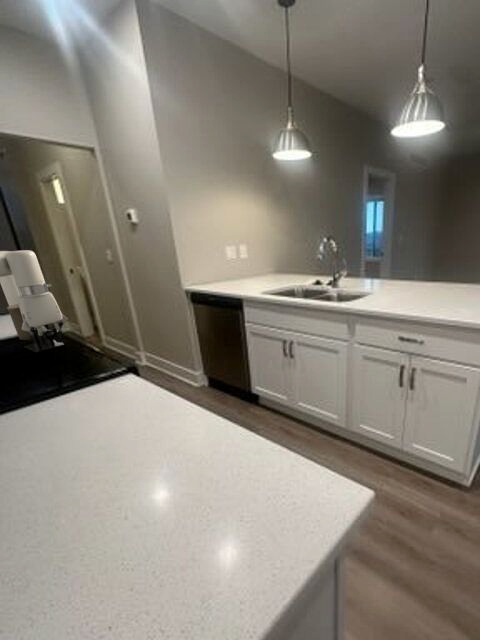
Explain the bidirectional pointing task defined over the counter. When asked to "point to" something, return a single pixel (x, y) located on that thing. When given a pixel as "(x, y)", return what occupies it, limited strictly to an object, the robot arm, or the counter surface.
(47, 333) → the lever
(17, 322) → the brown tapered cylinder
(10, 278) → the cylindrical container
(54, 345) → the bracket
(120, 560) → the counter surface
